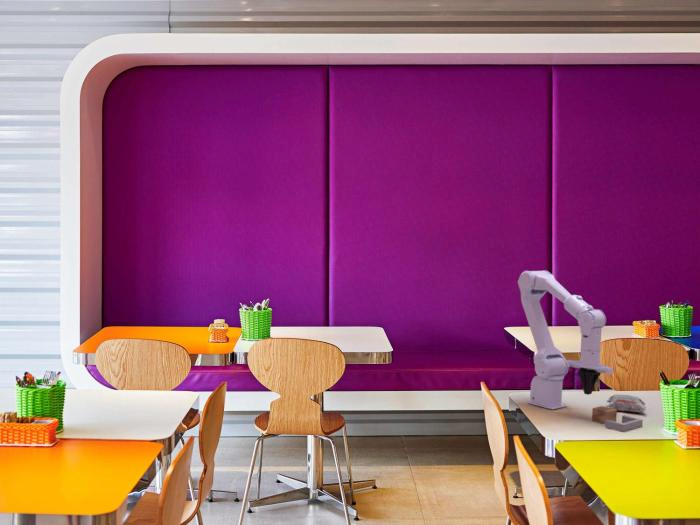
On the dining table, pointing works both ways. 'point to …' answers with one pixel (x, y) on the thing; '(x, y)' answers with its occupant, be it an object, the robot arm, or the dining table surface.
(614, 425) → the purple-grey c-shaped block
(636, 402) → the packaged food
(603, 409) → the wooden cube block
